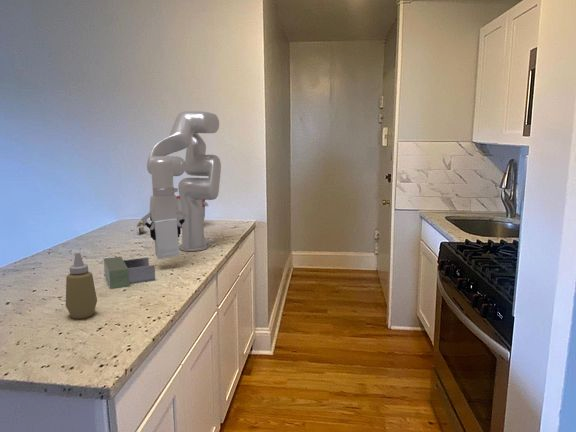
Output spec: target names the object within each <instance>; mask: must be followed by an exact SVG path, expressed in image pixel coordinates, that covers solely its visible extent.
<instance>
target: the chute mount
mask: <svg viewBox="0 0 576 432" xmlns="http://www.w3.org/2000/svg"><path fill="white" fill-rule="evenodd" d="M149 261H150V260H149V257H147V256H146V257H139V258H130V259H123V258H122V256H117V257H116V256H115V257H108V258H107V257H106V258H103V268H104V276H105V277H104V278H105V279H106V282H107V283H108V288H109V289H110V290H113V289H119V288H127V287H130V285H131V284H139V283H144V282H145V283H146V282H154V281H156V269H155V265H154V264H151V265H150V264H149V263H150V262H149Z"/></svg>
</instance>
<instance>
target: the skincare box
mask: <svg viewBox="0 0 576 432" xmlns="http://www.w3.org/2000/svg"><path fill="white" fill-rule="evenodd" d="M154 225H155V227H154V229H155V236H156V240H153V241H154V242H153V243H154V250H155V256H156V258H157V259H158V260H162V259H167V258H174V257H180V249H179V246H180V245H179V237H178V229H177V219H168V220H161V221H155V223H154Z"/></svg>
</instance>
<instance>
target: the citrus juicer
mask: <svg viewBox="0 0 576 432" xmlns="http://www.w3.org/2000/svg"><path fill="white" fill-rule="evenodd" d="M176 198H177V203H178V210H179V211H181V201H180V195H177V196H176ZM198 201H199V203H200V204H201V205H202V207H203V219H204V220H205V217H206V216H205V215H206V207H209V202H206V200H198ZM181 219H182V216H181V215H180V214H179V220H178V221H180V220H181ZM180 228H182V225H181V227H180Z"/></svg>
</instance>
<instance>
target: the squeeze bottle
mask: <svg viewBox="0 0 576 432" xmlns="http://www.w3.org/2000/svg"><path fill="white" fill-rule="evenodd" d="M68 269H69V274H67V275H66V276H65V277H66V279H65V280H66V283H65V307H66V309H67V311H68V313H69V316H70V317H71V318H72V319H75V320H76V319H79V320H81V319H86V318H89V317H91V316H93V315H94V314H95V311H96V307H97V302H98V298H97V297H98V296H97V293H96V292H97V291H96V286H95V282H94V276H93V273H92V272H90V271H89V264H86V263H84V261H83V257H82V255H81V252H76V253H75V255H74V260H73V265H70V266H69V268H68Z"/></svg>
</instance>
